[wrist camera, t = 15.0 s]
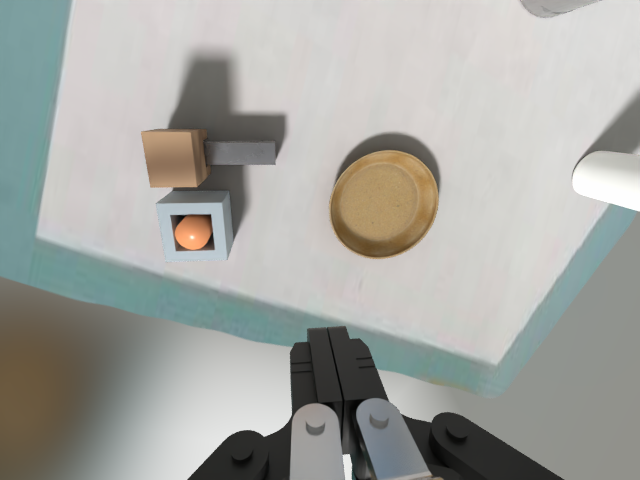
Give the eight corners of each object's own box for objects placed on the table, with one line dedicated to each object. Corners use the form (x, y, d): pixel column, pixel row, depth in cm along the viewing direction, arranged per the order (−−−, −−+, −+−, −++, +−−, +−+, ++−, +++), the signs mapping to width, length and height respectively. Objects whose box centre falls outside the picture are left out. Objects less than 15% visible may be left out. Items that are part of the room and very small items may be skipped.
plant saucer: (429, 138, 43) (438, 140, 40) (431, 241, 48) (439, 248, 46) (318, 158, 42) (321, 161, 40) (334, 260, 48) (337, 268, 45)
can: (560, 184, 47) (647, 206, 36) (590, 142, 45) (691, 152, 34) (591, 202, 49) (682, 228, 38) (621, 162, 47) (726, 177, 36)
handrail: (164, 139, 39) (153, 142, 36) (275, 140, 40) (274, 143, 37) (167, 160, 40) (157, 164, 36) (275, 160, 41) (275, 164, 38)
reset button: (186, 205, 41) (172, 219, 36) (216, 204, 42) (206, 219, 36) (190, 232, 43) (177, 250, 37) (218, 231, 43) (210, 249, 38)
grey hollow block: (172, 191, 41) (155, 203, 36) (229, 190, 42) (221, 202, 36) (179, 242, 44) (165, 261, 38) (233, 241, 44) (227, 259, 39)
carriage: (166, 127, 37) (141, 131, 30) (206, 128, 38) (190, 132, 31) (172, 173, 39) (150, 187, 32) (211, 173, 39) (197, 187, 33)
